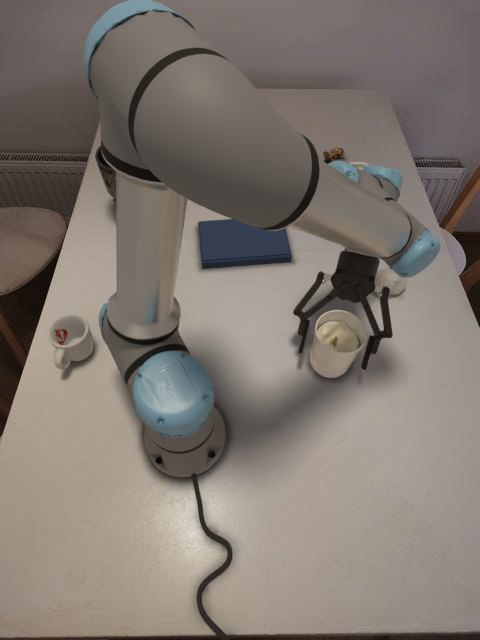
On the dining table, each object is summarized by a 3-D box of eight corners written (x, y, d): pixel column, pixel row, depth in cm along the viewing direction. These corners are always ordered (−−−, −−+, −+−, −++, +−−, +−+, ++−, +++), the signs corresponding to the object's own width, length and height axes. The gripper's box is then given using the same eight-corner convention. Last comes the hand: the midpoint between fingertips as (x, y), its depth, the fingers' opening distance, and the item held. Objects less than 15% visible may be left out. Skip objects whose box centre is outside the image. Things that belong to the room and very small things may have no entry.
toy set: (359, 163, 128) (363, 149, 124) (335, 181, 123) (338, 167, 119) (327, 145, 132) (330, 131, 128) (303, 161, 128) (306, 147, 124)
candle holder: (325, 332, 95) (337, 301, 85) (361, 361, 91) (377, 331, 81) (296, 360, 91) (304, 330, 81) (332, 390, 88) (345, 363, 78)
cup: (84, 381, 88) (72, 363, 81) (48, 374, 88) (33, 355, 82) (104, 337, 93) (94, 316, 87) (69, 330, 94) (57, 310, 88)
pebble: (377, 268, 106) (383, 254, 102) (408, 283, 103) (415, 269, 99) (361, 290, 102) (367, 277, 98) (393, 307, 99) (400, 294, 95)
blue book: (291, 261, 106) (292, 255, 104) (202, 268, 105) (201, 262, 103) (281, 221, 114) (282, 215, 112) (198, 227, 112) (198, 221, 110)
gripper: (421, 266, 83) (389, 370, 88) (299, 239, 87) (274, 340, 91) (431, 269, 76) (395, 381, 81) (297, 239, 79) (270, 349, 84)
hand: (331, 359), depth 86 cm, fingers open, 12 cm apart
